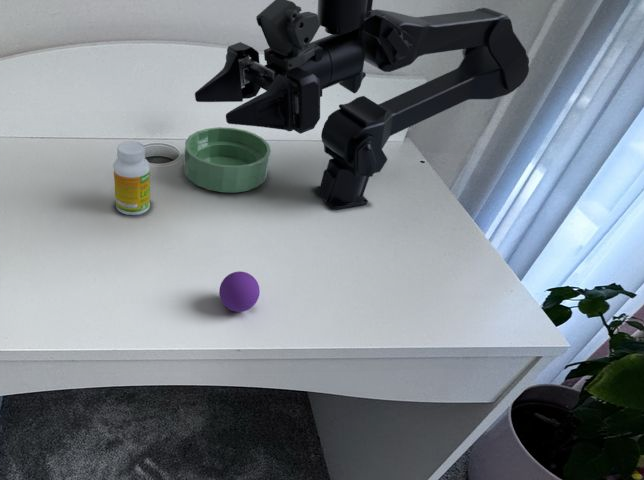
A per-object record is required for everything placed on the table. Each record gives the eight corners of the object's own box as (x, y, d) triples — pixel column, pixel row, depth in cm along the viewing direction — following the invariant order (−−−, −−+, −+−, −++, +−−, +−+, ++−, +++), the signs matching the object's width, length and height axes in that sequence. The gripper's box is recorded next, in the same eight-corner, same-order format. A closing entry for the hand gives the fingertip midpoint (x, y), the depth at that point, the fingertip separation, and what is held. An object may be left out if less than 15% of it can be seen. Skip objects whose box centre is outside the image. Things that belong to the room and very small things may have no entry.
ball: (247, 290, 67) (252, 260, 63) (262, 315, 63) (269, 285, 60) (211, 297, 65) (215, 267, 62) (226, 323, 62) (230, 292, 59)
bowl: (246, 150, 93) (249, 123, 90) (279, 189, 84) (285, 161, 81) (173, 159, 90) (174, 132, 86) (200, 201, 81) (202, 172, 77)
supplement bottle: (145, 218, 77) (144, 158, 70) (111, 213, 78) (107, 153, 70) (153, 200, 81) (153, 141, 73) (121, 195, 81) (118, 136, 74)
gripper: (277, -18, 65) (169, 21, 63) (369, 4, 52) (236, 53, 51) (282, 73, 73) (186, 110, 71) (362, 111, 60) (247, 157, 59)
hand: (210, 107), depth 63 cm, fingers open, 9 cm apart
